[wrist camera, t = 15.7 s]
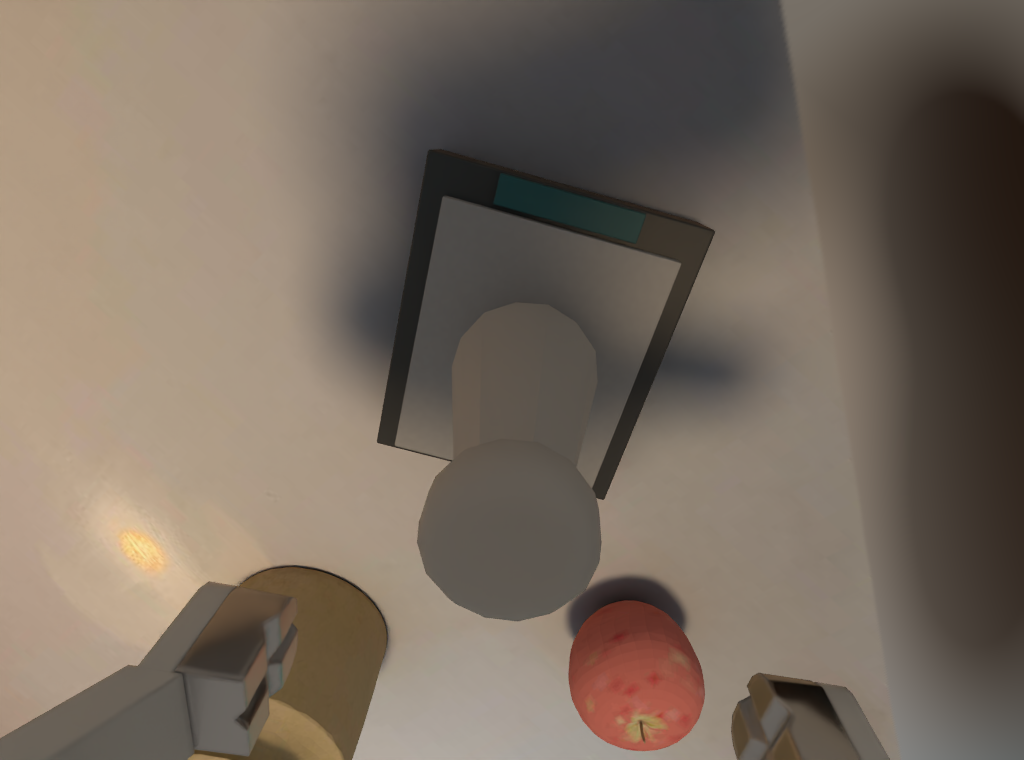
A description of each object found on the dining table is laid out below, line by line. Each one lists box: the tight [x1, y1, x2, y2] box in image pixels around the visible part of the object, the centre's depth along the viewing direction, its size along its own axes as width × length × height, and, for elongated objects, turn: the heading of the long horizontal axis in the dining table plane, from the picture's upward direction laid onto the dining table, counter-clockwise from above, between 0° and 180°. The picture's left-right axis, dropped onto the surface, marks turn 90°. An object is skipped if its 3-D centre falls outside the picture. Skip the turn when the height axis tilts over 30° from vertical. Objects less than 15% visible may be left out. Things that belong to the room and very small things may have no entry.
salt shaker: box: [417, 302, 601, 621], centre depth 17 cm, size 6×6×13 cm
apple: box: [569, 600, 705, 751], centre depth 30 cm, size 7×7×8 cm
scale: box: [377, 149, 715, 500], centre depth 24 cm, size 14×12×3 cm
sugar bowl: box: [187, 567, 387, 760], centre depth 29 cm, size 15×11×15 cm
